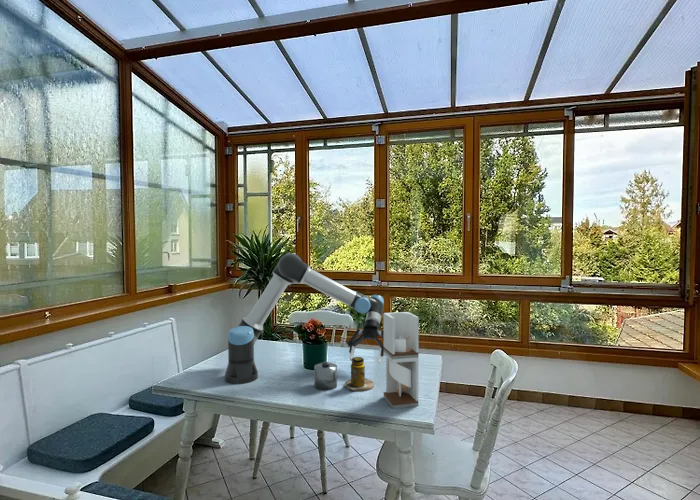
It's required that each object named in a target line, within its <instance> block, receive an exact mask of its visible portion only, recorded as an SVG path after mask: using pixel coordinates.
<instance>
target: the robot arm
mask: <svg viewBox="0 0 700 500" xmlns="http://www.w3.org/2000/svg"><path fill="white" fill-rule="evenodd" d="M294 282H296V283H298V284H305V285H307V286H309V287H311V288H313V289H314V290H317V292H318V291H319V292H321V293H323V294H325V295H326V296H328V297H331V298H332V299H334V300H336V301H338V302H340V303H342V304H344V305H346V306H348V307H350V308H352V309H353V310H355V311H356V312H357V313H359V314H366V317H365V320H364V325H363V329H360V328H357V329H356V331H355V333H354V334H353V335H352V336H351V337H350V339H349V340H348V341H347V343H346V344H347V347H348V348H349V351H348V352H349V360H350V362H352V358H354V354H355V350H356V349H355V347H357V346H358V345H359V344H360V343H361V342H363V341H365V340H369V341H370V340H371V341H373V340H374V341H375V342H376V343H377V345H378V346H379V352H378V357H377V363H378V364H381V360H382V357H383V358H384V357H385V355H384V344H383V343H384V330H381V331H380V326H381V325H380V324H381V320H382V316H383V315H382V314H383V310H384V306H385V305H384V304H385V300H384V299H385V298H384V297H382V296H381V295H379V294H373V295H371V296H368V295H366V294H364V293H361V292H358V291H355V290H352V289H350V288H348V287H346V286H344V285H342V284H341V283H339V282H338V281H337V282H336V281H335V280H333V279H331V278H329V277H327V276H325V275H323V274H322V273H320V272H318V271H315V270H314V269H313V268H311V266H310V265H309V264H307V263H305V262H304V261H303V259H301V257H300V256H299V255H298V254H296V253H292V252H290V253H285V254H284V255H282V256H281V257H280V259H279V261H278V262H277V264H276V266H275V267H274V269H273V270H272V278H271V279H270V281H269V282H268V284H267V285H266V287H265V289H264V291H263V292H262V294H260V296H259V297H258V299H257V301H256V303H255V304H254V306H253V308H252V309H251V310H250V312H249V314H247V316H244V317H243V318H242V319H241V320H240V322H239V324H238V326H235V327H232V328H230V329H229V330H228V334H227V348H228V349H227V351H228V352H227V353H228V354H227V355H228V356H227V357H228V358H227V359H228V362H227V363H228V364H227V366H226V369H225V373H224V381H225V382H226V383H228V384H234V383H239V384H246V383H251V382H253V381H256V380H257V379H258V378H259V371H258V368H257V366H256V362H255V344H256V342H257V340H258V339H259V337H260V335H261V334H262V332H263V331H264V326H263V325H264V323H266V321H267V319H268V317H269V316H270V313H271V312H272V311H273V309H274V308H275V306H276V305H277V303H278V302H279V299H280V298H281V296H282V295H283V293H284V292H285V290H286V289H287V287H288V286H289V285H293V283H294ZM378 336H380V337H381V339H382V342H383V343H382V342H381V341H380V339H379V337H378Z"/></svg>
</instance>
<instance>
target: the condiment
mask: <svg viewBox="0 0 700 500" xmlns="http://www.w3.org/2000/svg"><path fill="white" fill-rule="evenodd" d="M364 360H365V359H364V358H363V357H362V356H361V357H360V356H353V358H352V361H351V365H350V379H351V383H348V384H345V383H343V385H344V387H345V386H347V387H348V388H350V389H352V390H351V391H353V390H354V389H358V388H363V387H367V386H368V385H366V384H365V379H366V377H365V375H366V373H365V372H366V371H365V370H366V369H365V368H366V367H365V361H364Z"/></svg>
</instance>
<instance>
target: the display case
mask: <svg viewBox="0 0 700 500" xmlns="http://www.w3.org/2000/svg"><path fill="white" fill-rule="evenodd" d="M419 321H420V320H419V316H417V315H415V314H413V313H411V312H409V311H401V312H399V311H398V312H396V311H395V312H383V331H384V342H383V346H384V357H385V365H386V366H385V378H386V379H385V380H386V381H385V384H386V386H385V390H386V391H385V392H384V391H383V399H385V401H386V402H387V403H388V405H390V407H391V409H401V408H410V407H418V406H419V352H420V351H419V340H420V339H419V332H420V331H419V328H420V327H419V326H420V325H419Z"/></svg>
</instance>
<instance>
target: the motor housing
mask: <svg viewBox="0 0 700 500" xmlns="http://www.w3.org/2000/svg"><path fill="white" fill-rule="evenodd" d="M313 370H314V371H313V372H314V384H313V385H314V389H316V390H318V391H323V392H324V391H327V392H328V391H333V390H334V389H337V387H338V365H337V364H336V363H333V362H329V361H323V362H320V363H317V364H314V369H313Z"/></svg>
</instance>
